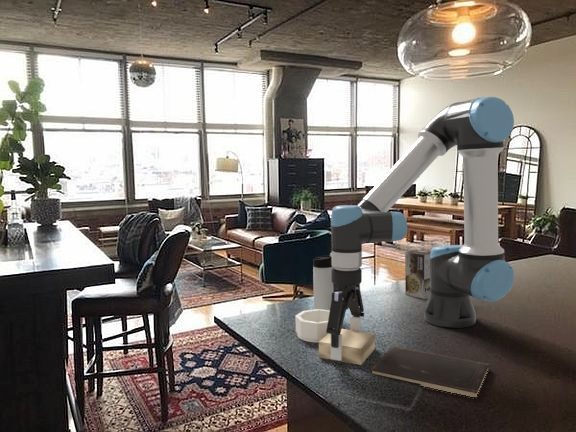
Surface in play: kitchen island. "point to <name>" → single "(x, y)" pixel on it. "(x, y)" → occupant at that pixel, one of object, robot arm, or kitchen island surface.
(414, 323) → the kitchen island surface
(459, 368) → the hardcover book
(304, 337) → the bowl
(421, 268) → the coffee box
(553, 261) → the kitchen island surface
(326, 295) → the travel mug
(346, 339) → the tan box
